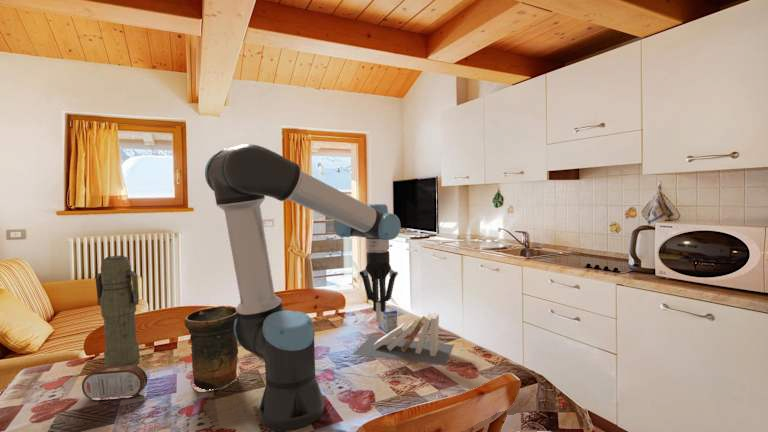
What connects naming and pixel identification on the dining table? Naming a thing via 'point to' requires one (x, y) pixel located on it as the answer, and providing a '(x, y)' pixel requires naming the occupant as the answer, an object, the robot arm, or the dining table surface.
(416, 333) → the oak domino
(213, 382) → the vessel
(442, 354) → the mat
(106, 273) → the stone statue
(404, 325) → the domino
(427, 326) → the domino
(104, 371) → the tin
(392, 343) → the domino
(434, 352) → the domino
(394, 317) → the medicine box
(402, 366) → the dining table surface
